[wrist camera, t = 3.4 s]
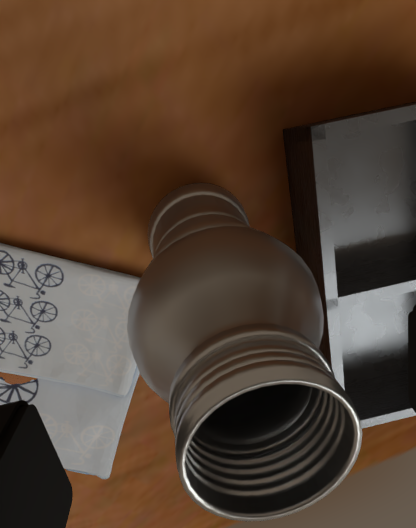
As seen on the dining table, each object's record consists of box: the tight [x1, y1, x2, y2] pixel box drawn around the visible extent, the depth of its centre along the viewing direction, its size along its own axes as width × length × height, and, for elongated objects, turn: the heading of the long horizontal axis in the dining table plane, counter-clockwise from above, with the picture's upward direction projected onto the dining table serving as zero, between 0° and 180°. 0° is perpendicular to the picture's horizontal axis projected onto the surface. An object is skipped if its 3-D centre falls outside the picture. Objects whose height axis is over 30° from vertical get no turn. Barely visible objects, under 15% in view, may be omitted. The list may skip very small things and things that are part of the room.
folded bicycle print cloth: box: [0, 243, 141, 479], centre depth 27 cm, size 19×20×2 cm
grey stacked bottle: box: [127, 183, 362, 521], centre depth 16 cm, size 6×7×20 cm
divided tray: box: [283, 102, 416, 428], centre depth 26 cm, size 22×12×5 cm, turn 11°
